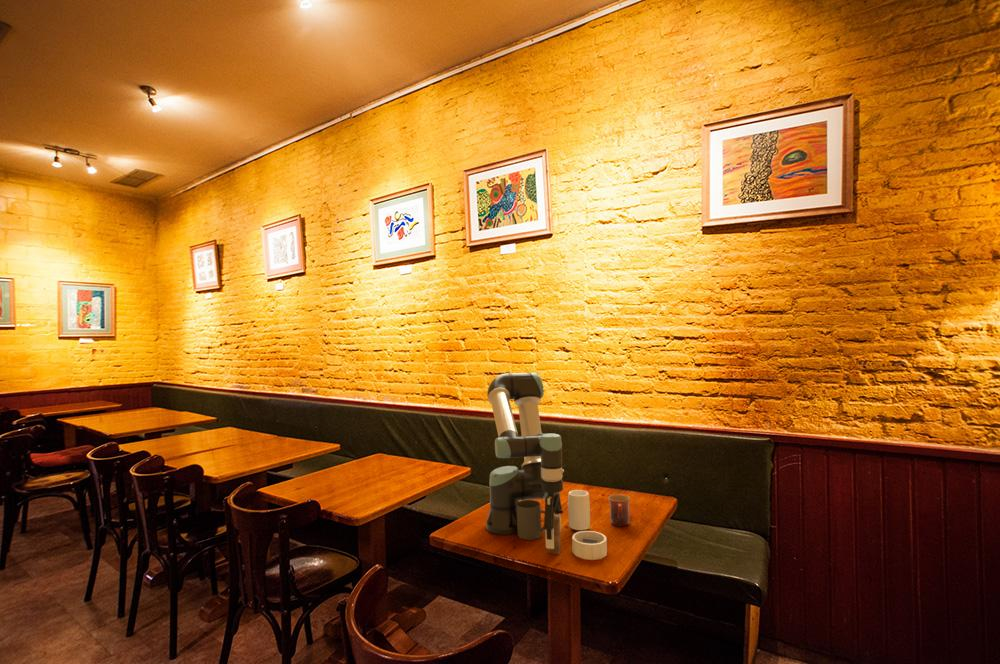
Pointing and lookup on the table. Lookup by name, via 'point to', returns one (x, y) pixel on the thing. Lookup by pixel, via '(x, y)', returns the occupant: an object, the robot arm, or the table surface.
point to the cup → (579, 509)
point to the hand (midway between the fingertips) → (553, 539)
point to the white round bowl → (589, 545)
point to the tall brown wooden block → (556, 536)
